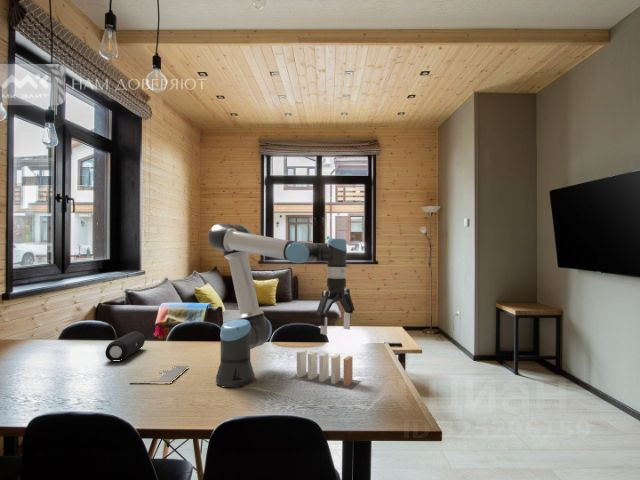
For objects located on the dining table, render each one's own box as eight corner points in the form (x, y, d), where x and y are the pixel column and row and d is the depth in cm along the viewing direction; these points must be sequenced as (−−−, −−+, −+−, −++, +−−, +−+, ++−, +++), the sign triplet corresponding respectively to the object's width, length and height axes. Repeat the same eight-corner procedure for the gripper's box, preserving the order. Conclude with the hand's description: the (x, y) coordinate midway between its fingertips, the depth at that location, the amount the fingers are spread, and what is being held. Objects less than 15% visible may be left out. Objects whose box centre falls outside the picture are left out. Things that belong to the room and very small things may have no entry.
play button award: (188, 365, 170) (170, 381, 150) (188, 369, 170) (170, 385, 150) (152, 365, 170) (129, 381, 150) (152, 369, 170) (129, 385, 150)
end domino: (343, 385, 147) (343, 359, 147) (348, 381, 151) (348, 355, 152) (347, 386, 146) (347, 359, 146) (352, 382, 151) (352, 356, 151)
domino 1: (296, 377, 157) (296, 352, 157) (303, 373, 161) (303, 349, 161) (300, 377, 156) (300, 352, 156) (306, 374, 160) (306, 350, 161)
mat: (290, 379, 155) (290, 378, 155) (302, 372, 164) (302, 371, 164) (351, 390, 143) (351, 389, 143) (361, 382, 152) (361, 381, 152)
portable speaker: (125, 363, 177) (125, 341, 178) (103, 363, 177) (103, 342, 177) (146, 349, 203) (146, 330, 203) (126, 349, 202) (127, 330, 202)
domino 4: (331, 383, 149) (331, 357, 150) (336, 379, 154) (336, 354, 154) (334, 383, 149) (334, 357, 149) (340, 380, 153) (340, 354, 153)
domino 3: (319, 381, 152) (319, 355, 152) (325, 377, 156) (325, 352, 156) (323, 381, 151) (323, 356, 151) (328, 377, 156) (328, 353, 156)
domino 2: (307, 379, 154) (307, 354, 154) (313, 375, 159) (313, 351, 159) (311, 379, 153) (311, 354, 154) (317, 376, 158) (317, 351, 158)
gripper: (321, 279, 140) (320, 338, 140) (363, 276, 158) (362, 328, 158) (307, 278, 146) (306, 334, 145) (349, 275, 164) (348, 325, 163)
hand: (335, 331), depth 152 cm, fingers open, 13 cm apart
